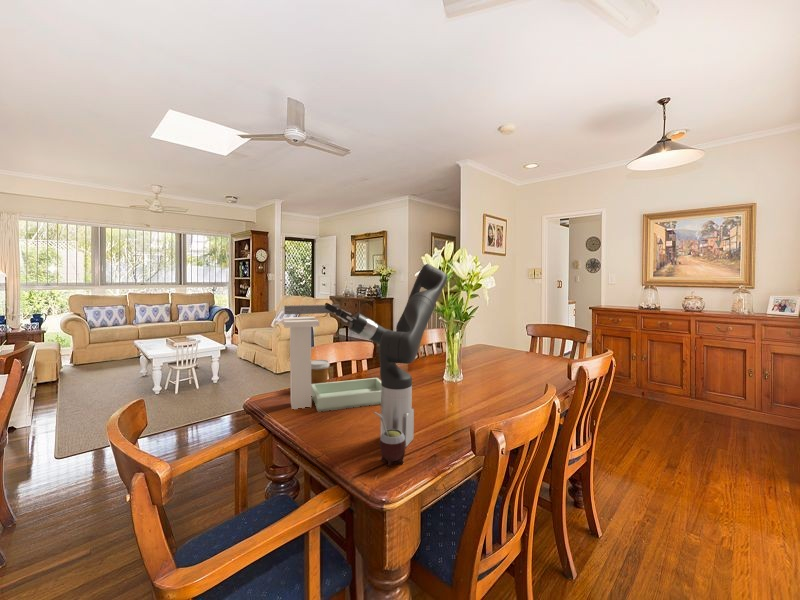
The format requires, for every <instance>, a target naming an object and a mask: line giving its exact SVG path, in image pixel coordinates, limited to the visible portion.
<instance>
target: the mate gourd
mask: <svg viewBox="0 0 800 600" xmlns="http://www.w3.org/2000/svg"><path fill="white" fill-rule="evenodd" d="M373 413H374V414H375V415H376V416H378V417H379V419H380V422H381V421H382V423H383V426H384V429H385V431H384V432H383V434H382V435H381V434H380V437H379V450H380V455H381V459H380V461H381V462H387V463H388V464H387V465H386V468H387V467H389V468H388V469H390V468H391V467H392V466H393V464H396V463H397V465H402V464H403V463H405V462H404V457H405V455H406V448H407V447H406V441H405V436H404V434H403V433H402V432H401V431H400V430H397V429H388V430H387V429H386V426H385V423H384V419H383V417H382V416H381V413H378V412H376V411H373ZM391 465H392V466H391ZM403 465H404V464H403Z"/></svg>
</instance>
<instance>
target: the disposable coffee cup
mask: <svg viewBox="0 0 800 600" xmlns="http://www.w3.org/2000/svg"><path fill="white" fill-rule="evenodd" d="M330 366H331V364H330V361H329V360H326V359H313V360H312V359H311V384H317V383H327V382H328V375H329V368H330Z"/></svg>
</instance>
